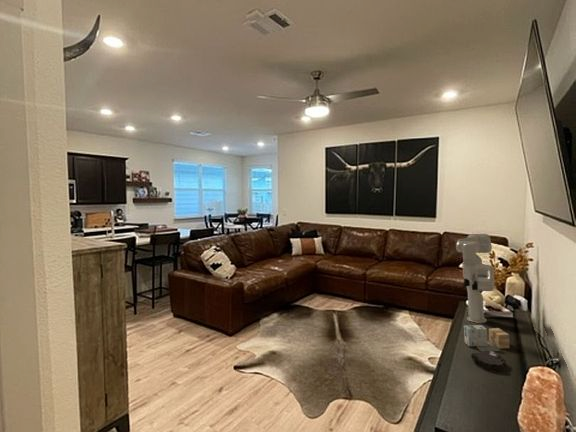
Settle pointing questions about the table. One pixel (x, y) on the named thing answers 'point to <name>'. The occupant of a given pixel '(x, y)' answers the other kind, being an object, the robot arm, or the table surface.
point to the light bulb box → (475, 335)
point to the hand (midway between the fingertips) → (470, 287)
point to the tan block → (499, 338)
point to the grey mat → (488, 347)
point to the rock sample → (489, 361)
